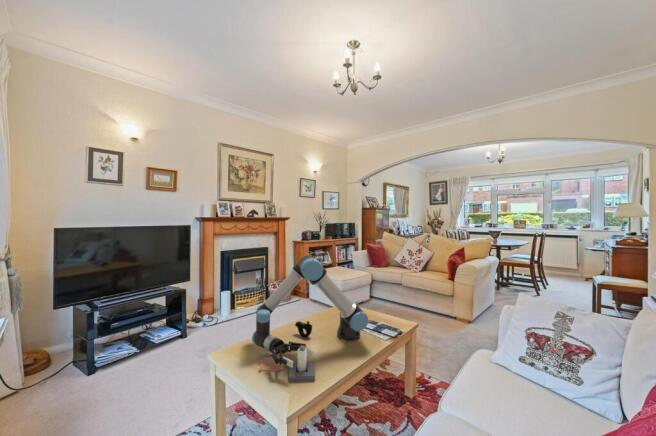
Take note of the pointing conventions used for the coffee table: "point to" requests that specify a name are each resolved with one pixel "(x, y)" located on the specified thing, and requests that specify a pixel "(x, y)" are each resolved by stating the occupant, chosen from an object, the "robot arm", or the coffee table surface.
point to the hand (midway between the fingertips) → (302, 358)
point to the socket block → (302, 373)
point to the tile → (270, 365)
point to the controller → (304, 326)
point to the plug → (302, 359)
